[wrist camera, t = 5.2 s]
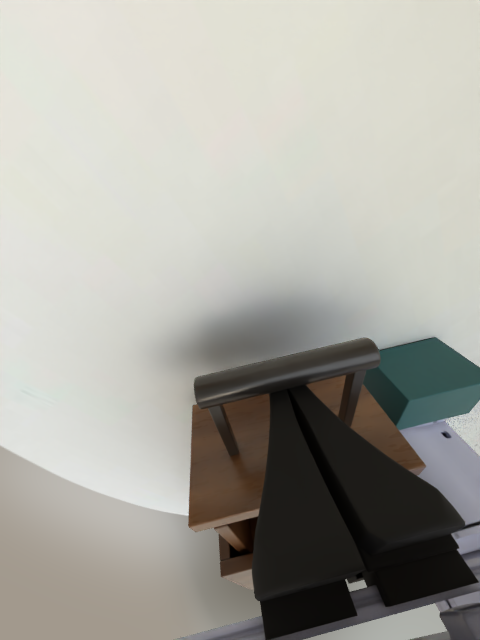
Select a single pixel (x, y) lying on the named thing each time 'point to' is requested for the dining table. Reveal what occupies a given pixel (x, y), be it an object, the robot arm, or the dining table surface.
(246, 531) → the drawer
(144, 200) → the dining table surface
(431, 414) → the tea box
